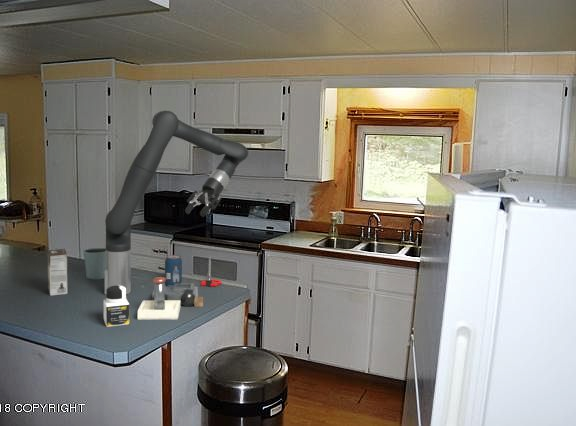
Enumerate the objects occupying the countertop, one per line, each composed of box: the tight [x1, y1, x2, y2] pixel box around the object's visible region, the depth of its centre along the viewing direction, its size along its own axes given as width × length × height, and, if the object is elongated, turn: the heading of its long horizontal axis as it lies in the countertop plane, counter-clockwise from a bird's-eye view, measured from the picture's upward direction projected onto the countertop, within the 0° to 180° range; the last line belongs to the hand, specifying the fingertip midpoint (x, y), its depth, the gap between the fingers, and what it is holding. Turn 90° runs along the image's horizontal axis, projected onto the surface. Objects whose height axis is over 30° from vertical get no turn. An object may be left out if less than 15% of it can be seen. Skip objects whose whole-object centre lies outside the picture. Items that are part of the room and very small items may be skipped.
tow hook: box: [200, 255, 222, 288], centre depth 210 cm, size 8×13×9 cm
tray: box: [137, 299, 181, 321], centre depth 171 cm, size 13×11×3 cm
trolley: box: [151, 282, 199, 308], centre depth 185 cm, size 16×12×6 cm
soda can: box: [164, 254, 183, 286], centre depth 207 cm, size 7×7×12 cm
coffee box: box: [46, 248, 68, 296], centre depth 190 cm, size 9×6×16 cm
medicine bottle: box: [103, 285, 130, 328], centre depth 161 cm, size 7×7×12 cm
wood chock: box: [194, 296, 204, 308], centre depth 181 cm, size 3×2×3 cm
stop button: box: [152, 276, 166, 310], centre depth 170 cm, size 4×4×12 cm
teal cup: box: [82, 247, 106, 280], centre depth 213 cm, size 10×10×12 cm
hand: (193, 214), depth 188 cm, fingers open, 8 cm apart
